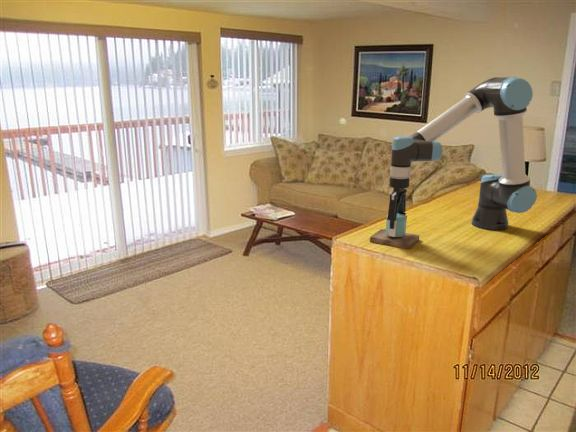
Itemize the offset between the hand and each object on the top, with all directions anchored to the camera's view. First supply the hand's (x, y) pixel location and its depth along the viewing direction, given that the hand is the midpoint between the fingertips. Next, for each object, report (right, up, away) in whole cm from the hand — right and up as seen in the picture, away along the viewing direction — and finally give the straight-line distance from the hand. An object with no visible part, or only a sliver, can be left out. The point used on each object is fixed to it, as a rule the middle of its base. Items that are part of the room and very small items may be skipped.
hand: (395, 233), depth 193 cm
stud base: (0, -3, +1) cm, 3 cm away
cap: (0, 0, 0) cm, 0 cm away
